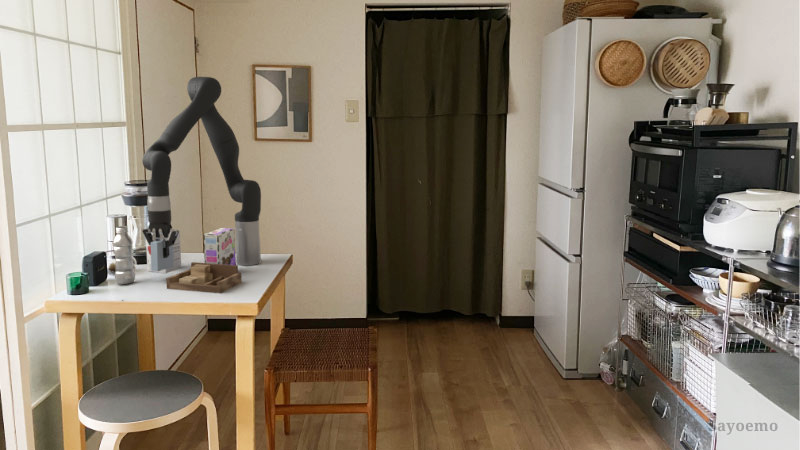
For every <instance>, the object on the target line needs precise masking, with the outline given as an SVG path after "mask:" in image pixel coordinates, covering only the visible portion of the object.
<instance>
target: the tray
mask: <svg viewBox="0 0 800 450" xmlns="http://www.w3.org/2000/svg"><path fill="white" fill-rule="evenodd" d="M196 264H199V265H210V273H212V276H213V280H212V281H210V282H208V283H205V284H203V285H200V284H188V283H179V279H180V278H183V277H186V276H190V275H191V268H188V269H186V270H184V271H181V272H179V273H176V274H174V275H171V276H169V277H166V278H165V280H166V281H165V282H166V290H178V291H187V292H189V291H190V292H200V293H210V294H211V293H213V294H223V292H226V291H228V290H230V289H232V288H234V287H236V286H238V285H240V284H241V283H242V272H239V265H238V264H236V265H225V264H211V263H205V262H196V261H195V262H193V261H192V262H191V263H190V267H192V266H194V265H196Z"/></svg>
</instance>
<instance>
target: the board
mask: <svg viewBox="0 0 800 450" xmlns="http://www.w3.org/2000/svg"><path fill="white" fill-rule="evenodd" d="M171 267H173V245H172V246H170V247H169V256H168V258H163V245H162V241H161V240H159V241H154V242H151V271H161V270H164V269H168V268H171ZM151 271H150V272H151Z"/></svg>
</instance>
